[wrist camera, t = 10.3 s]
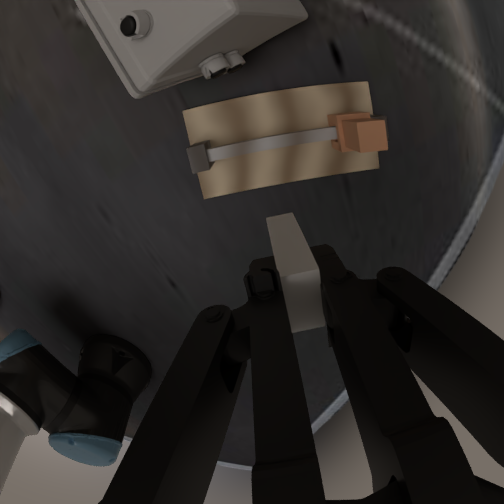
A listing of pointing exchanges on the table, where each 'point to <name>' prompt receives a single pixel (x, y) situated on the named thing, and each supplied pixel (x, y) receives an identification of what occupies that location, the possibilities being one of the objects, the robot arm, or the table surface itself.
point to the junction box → (183, 36)
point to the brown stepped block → (358, 132)
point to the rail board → (274, 138)
